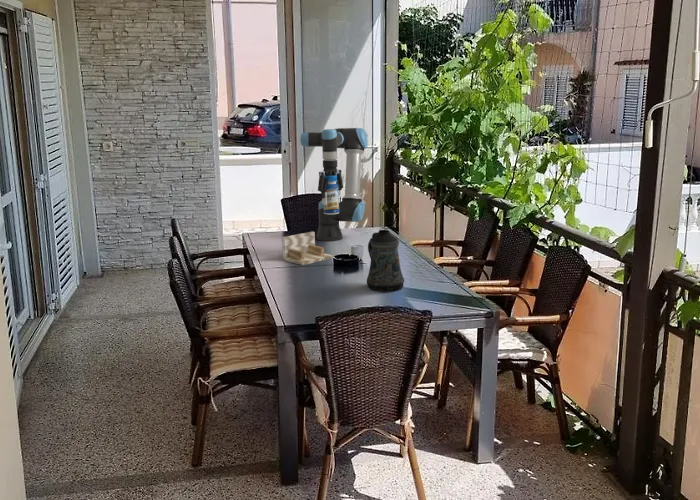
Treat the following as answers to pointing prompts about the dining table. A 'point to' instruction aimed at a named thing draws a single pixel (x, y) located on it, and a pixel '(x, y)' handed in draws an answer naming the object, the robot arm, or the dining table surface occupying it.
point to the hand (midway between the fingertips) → (331, 203)
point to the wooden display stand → (303, 249)
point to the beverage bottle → (332, 196)
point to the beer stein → (384, 263)
